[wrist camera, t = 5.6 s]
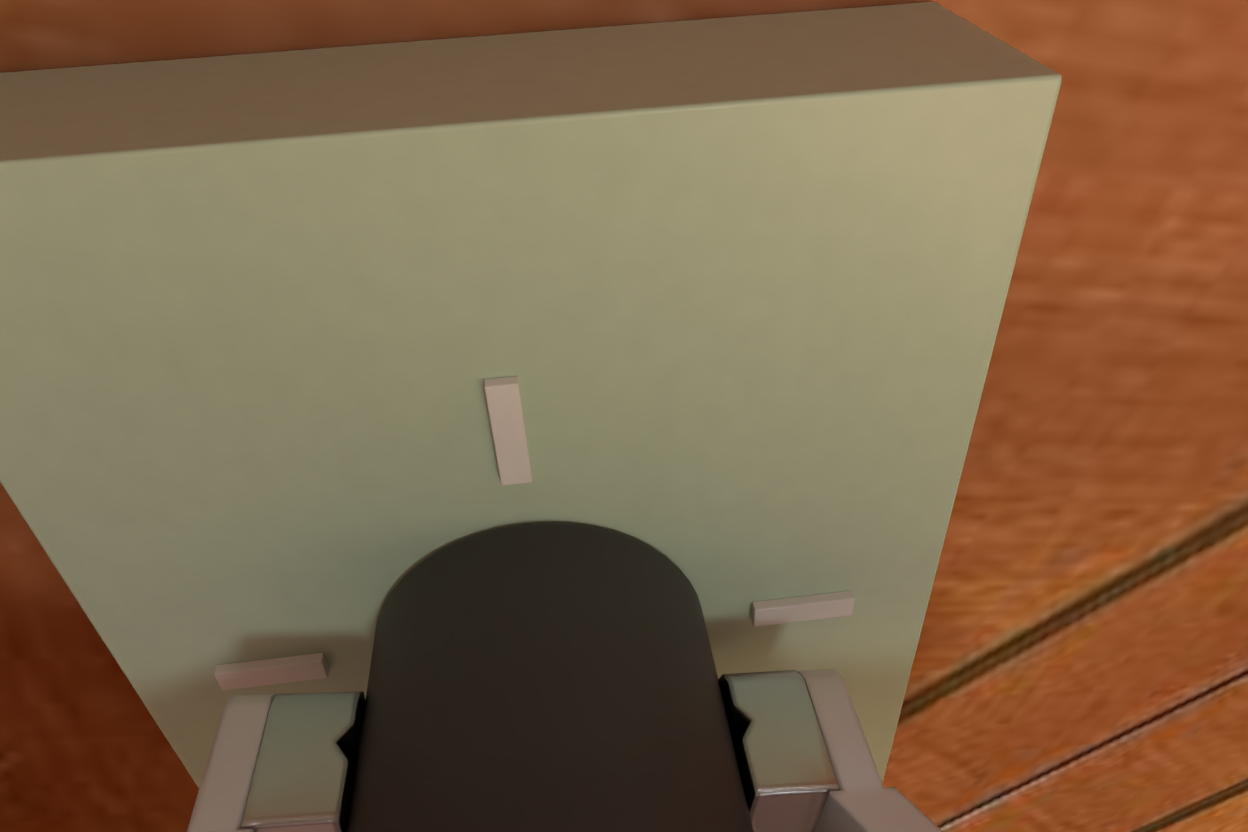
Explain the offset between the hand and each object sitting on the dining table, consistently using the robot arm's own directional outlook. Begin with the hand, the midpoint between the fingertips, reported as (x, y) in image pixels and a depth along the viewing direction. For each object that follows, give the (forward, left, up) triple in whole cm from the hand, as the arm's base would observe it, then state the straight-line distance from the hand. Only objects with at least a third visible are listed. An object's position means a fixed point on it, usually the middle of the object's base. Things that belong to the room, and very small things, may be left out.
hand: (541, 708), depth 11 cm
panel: (0, 0, -4) cm, 4 cm away
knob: (0, 0, -1) cm, 1 cm away
